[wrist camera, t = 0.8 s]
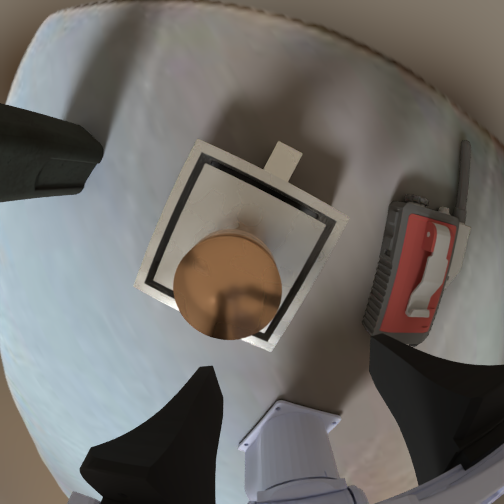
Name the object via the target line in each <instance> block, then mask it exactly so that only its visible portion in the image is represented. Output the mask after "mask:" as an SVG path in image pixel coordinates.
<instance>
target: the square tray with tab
mask: <svg viewBox="0 0 504 504" xmlns="http://www.w3.org/2000/svg"><path fill="white" fill-rule="evenodd" d="M301 156H302V153H301V152H299V151H297V150H295V149H293V148H291V147H289V146H287V145H286V144H284V143H282V142H280V141H278V143H277V145H276V146H275V148H274V150H273V152H272V154H271V156H270V158H269V160H268V161H267V163H266V165H265V167H264V169H261V168H259V167H257V166H255V165H253V164H251V163H249V162H247V161H245V160H243V159H241V158H239V157H237V156H234V155H232V154H230V153H228V152H226V151H224V150H222V149H219V148H217V147H215V146H213V145H211V144H208V143H206V142H204V141H202V140H199V139H197V141H196V142H195V144H194V146H193V148H192V150H191V152H190V154H189V156H188V158H187V160H186V162H185V164H184V166H183V168H182V170H181V172H180V174H179V176H178V179H177V181H176V183H175V185H174V187H173V189H172V191H171V194H170V196H169V198H168V200H167V203H166V205H165V207H164V209H163V212H162V214H161V216H160V219H159V221H158V223H157V226H156V228H155V231H154V233H153V236H152V238H151V241H150V243H149V246H148V248H147V251H146V253H145V256H144V259H143V261H142V264H141V267H140V269H139V272H138V275H137V278H136V281H135V283H134V286H133V287H135V288H137V289H139V290H140V291H142V292H144V293H146V294H148V295H150V296H151V297H153V298H155V299H157V300H159V301H161V302H163V303H165V304H167V305H169V306H171V307H173V308H175V309H177V310H179V309H178V307H177V304H176V302H175V298H174V292H173V290H171V289H169V288H167V287H165V286H163V285H161V284H159V283H158V282H156V281H154V277H155V274H156V272H157V269H158V267H159V264H160V262H161V259H162V257H163V255H164V252H165V250H166V247H167V245H168V243H169V240H170V238H171V236H172V233H173V231H174V229H175V226H176V224H177V222H178V220H179V217H180V215H181V213H182V211H183V209H184V206H185V204H186V202H187V200H188V198H189V196H190V194H191V192H192V189H193V187H194V185H195V183H196V181H197V179H198V177H199V175H200V173H201V171H202V169H203V167H204V165H205V163H206V164H208V165H211V163H212V161H215V162H217V163H219V164H221V165H224V166H226V167H228V168H230V169H232V170H234V171H236V172H238V173H240V174H242V175H244V176H246V177H248V178H250V179H252V180H254V181H256V182H258V183H260V184H262V185H264V186H266V187H268V188H270V189H272V190H274V191H276V192H278V193H280V194H282V195H283V196H285V197H287V198H289V199H291V200H293V201H295V202H297V203H298V204H300V205H302V206H304V207H306V208H308V209H309V210H311V211H313V212H315V213H317V214H318V215H319V216H318V218H317V220H318V221H320V222H322V223H324V224H325V225H326V226H325V228H324V230H323V232H322V234H321V235H320V237H319V239H318V241H317V243H316V245H315V247H314V248H313V250H312V252H311V254H310V256H309V257H308V259H307V261H306V263H305V265H304V266H303V268H302V270H301V272H300V274H299V275H298V277H297V279H296V281H295V282H294V284H293V286H292V288H291V289H290V291H289V293H288V294H287V296H286V298H285V300H284V301H283V303H282V305H281V306H280V308H279V310H278V311H277V313H276V315H275V316H274V318H273V320H272V321H271V323H270V325H269V326H268V328H267V330H266V331H265V333H262V332H260V331H259V332H257V333H256V334H254V335H251V336H249V337H246V338H242V339H241V340H243V341H246V342H248V343H250V344H253V345H255V346H258V347H260V348H262V349H265V350H267V351H270V352H271V351H272V350H273V348H274V347H275V345H276V344H277V342H278V341H279V339H280V338H281V336H282V334H283V333H284V331H285V330H286V328H287V326H288V325H289V323H290V322H291V320H292V318H293V317H294V315H295V314H296V312H297V310H298V309H299V307H300V305H301V304H302V302H303V300H304V299H305V297H306V295H307V294H308V292H309V290H310V289H311V287H312V285H313V284H314V282H315V280H316V278H317V277H318V275H319V273H320V271H321V270H322V268H323V266H324V264H325V263H326V261H327V259H328V257H329V255H330V254H331V252H332V250H333V248H334V246H335V244H336V243H337V241H338V239H339V237H340V235H341V233H342V231H343V229H344V228H345V226H346V224H347V222H348V220H349V218H350V217H348V216H347V215H345V214H343V213H341V212H340V211H338V210H336V209H335V208H333V207H331V206H330V205H328V204H326V203H324V202H323V201H321V200H319V199H317V198H316V197H314V196H312V195H310V194H308V193H307V192H305V191H303V190H301V189H299V188H297V187H296V186H294V185H292V184H290V183H288V181H289V179H290V177H291V175H292V173H293V171H294V169H295V168H296V166H297V164H298V162H299V160H300V158H301Z"/></svg>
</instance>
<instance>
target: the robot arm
mask: <svg viewBox="0 0 504 504" xmlns="http://www.w3.org/2000/svg"><path fill="white" fill-rule="evenodd" d="M369 372H370V374H371V376H372V379H373V381H374V384H375V386H376V388H377V390H378V391H379V393H380V395H381V396H382V398H383V400H384V401H385V403H386V405H387V406H388V408H389V409H390V411H391V413H392V414H393V416H394V418H395V419H396V421H397V423H398V425H399V427H400V430H401V432H402V435H403V437H404V440H405V442H406V445H407V448H408V450H409V453H410V456H411V459H412V463H413V466H414V469H415V473H416V477H417V481H418V485H419V486H418V487H416V488H413V489H411V490H409V491H406V492H404V493H402V494H399V495H397V496H394V497H392V498H389V499H386V500H384V501H381V502H378V503H375V504H491V503H492V502H494V501H495V500H496V499H497V498H499V497H500V496H501V495H502V494H504V365H491V366H489V365H472V364H464V363H458V362H453V361H449V360H446V359H442V358H438V357H435V356H432V355H430V354H427V353H425V352H422V351H420V350H417V349H415V348H413V347H411V346H409V345H406V344H404V343H402V342H400V341H398V340H396V339H394V338H392V337H390V336H388V335H386V334H383V333H381V334H378V335H374V336H371V340H370V365H369ZM277 407H280V408H277ZM222 419H223V395H222V393H221V390H220V387H219V384H218V380H217V377H216V374H215V371H214V368H213V366H204V367H199V368H198V370H197V371H196V372H195V373H194V374H193V376H192V377H191V378H190V379H189V380H188V382H187V383H186V384H185V385H184V386H183V388H182V389H181V390H180V391H179V392H178V393H177V394H176V395H175V396H174V397H173V398H172V399H171V400H170V401H169V402H168V403H167V404H166V405H165V406H164V407H163V408H162V409H161V410H160V411H159V412H157V413H156V414H155V415H154V416H152V417H151V418H150V419H148V420H147V421H146V422H144V423H142V424H141V425H139V426H138V427H136V428H135V429H133V430H131V431H130V432H128V433H126V434H124V435H122V436H120V437H118V438H116V439H113V440H111V441H108V442H106V443H103V444H100V445H97V446H94V447H91V448H90V450H89V452H88V454H87V456H86V458H85V460H84V461H83V463H82V465H81V467H80V473H81V475H82V477H83V478H84V479H85V480H86V482H87V483H88V484H89V485H91V486H92V487H93V488H94V489H95V490H96V491H97V492H98V493H99V494H100V495H102V496H103V498H102V501H101V502H100V501H98V500H96V499H94V498H92V497H89V496H86V495H83V494H80V493H77V492H72V494H71V496H70V499H69V501H68V503H67V504H215V470H216V455H217V449H218V443H219V437H220V431H221V425H222ZM340 421H341V417H340V416H339V415H335V414H331V413H327V412H323V411H319V410H315V409H311V408H308V407H304V406H300V405H297V404H294V403H290V402H287V401H284V400H279V401H277V402H276V403H275V404H274V405H273V407H272V408H271V409H270V410H269V411H268V413H267V414H266V415H265V416H264V417H263V418H262V420H261V421H260V422H259V423H258V424H257V425H256V427H255V428H254V429H253V430H252V431H251V432H250V433H249V434H248V436H247V437H246V438H245V439H244V440H243V441H242V442H241V443H240V444H239V445H238V449H239V450H241V451H244V452H245V493H246V495H247V497H248V499H249V500H250V501H249V502H248V504H369V502H368V499H367V497H366V495H365V493H364V492H363V490H361V489H360V488H357V487H356V486H355V485H351V486H348V487H347V484H346V481H345V478H341V479H340V477H339V473H338V469H337V466H336V462H335V459H334V455H333V451H332V448H331V444H330V441H329V437H328V433H329V432H330V431H331V430H332V429H333V428H334V427H335V426H336V425H337V424H338V423H339V422H340Z"/></svg>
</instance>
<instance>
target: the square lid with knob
mask: <svg viewBox="0 0 504 504" xmlns="http://www.w3.org/2000/svg"><path fill="white" fill-rule="evenodd" d="M325 226H326V225H325V224H324V223H322V222H320V221H318V220H316V219H315V218H313V217H311V216H309V215H307V214H305V213H304V212H302V211H300V210H298V209H296V208H294V207H292V206H291V205H289V204H287V203H285V202H283V201H281V200H279V199H277V198H275V197H273V196H272V195H270V194H268V193H266V192H264V191H262V190H260V189H258V188H256V187H254V186H252V185H250V184H248V183H246V182H244V181H242V180H240V179H238V178H236V177H234V176H232V175H230V174H227V173H225V172H223V171H221V170H219V169H217V168H215V167H213V166H211V165H208V164H206V163H205V165H204V167H203V169H202V171H201V173H200V175H199V177H198V179H197V181H196V183H195V185H194V187H193V189H192V192H191V194H190V196H189V198H188V200H187V202H186V204H185V206H184V209H183V211H182V213H181V215H180V217H179V220H178V222H177V224H176V226H175V229H174V231H173V233H172V236H171V238H170V240H169V243H168V245H167V247H166V250H165V252H164V255H163V257H162V259H161V262H160V264H159V267H158V269H157V272H156V274H155V277H154V281H156V282H158V283H159V284H161V285H163V286H165V287H167V288H169V289H171V290H173V292H174V298H175V302H176V304H177V307H178V309H179V311H180V313H181V314H182V316H183V317H184V319H185V320H186V321H187V322H188V323H189V324H190V325H191V326H192V327H194V328H195V329H196V330H198V331H199V332H201V333H203V334H205V335H207V336H210V337H213V338H217V339H223V340H236V339H242V338H246V337H249V336H251V335H254V334H256V333H257V332H259V331H260V332H262V333H265V331H266V330H267V328H268V326H269V325H270V323H271V321H272V320H273V318H274V316H275V315H276V313H277V311H278V310H279V308H280V306H281V305H282V303H283V301H284V300H285V298H286V296H287V294H288V293H289V291H290V289H291V288H292V286H293V284H294V282H295V281H296V279H297V277H298V275H299V274H300V272H301V270H302V268H303V266H304V265H305V263H306V261H307V259H308V257H309V256H310V254H311V252H312V250H313V248H314V247H315V245H316V243H317V241H318V239H319V237H320V235H321V234H322V232H323V230H324V228H325Z"/></svg>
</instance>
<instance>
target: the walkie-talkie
mask: <svg viewBox="0 0 504 504" xmlns="http://www.w3.org/2000/svg"><path fill="white" fill-rule="evenodd" d="M470 151H471V145H470V142H469V141H467V140H463V141H462V142H461V159H460V174H459V185H458V194H457V202H456V208H455V209H454V213H453V216H451V215H450V214H449V208H446V207H441V208H440V207H439V212H438V211H435V210H431V209H428V208H425V206H428V204H429V200H428V199H426V198H424V197H420V196H416V195H411V194H407V195H405V200H406V201H407V202H408V203H404V202H396V201H393V202H392V203H391V204H390V205H389V210H388V216H387V222H386V227H385V232H384V237H383V242H382V247H381V252H380V256H379V258H380V261H379V262H378V264H379V265H378V268H377V269H376V270H377V273H376V274H375V280H374V281H373V283H374V285H373V287H372V292H371V293H370V295H371V296H370V298H369V300H368V301H369V303H368V304H367V310H365V312H366V314H365V316H364V317H363V318H364V320H363V321H362V323H363V325H364V327H365V328H366V330H367V331H368V333H369V334H370V335H371V336H374V335H378V334H381V333H383V334H386V335H388V336H390V337H392V338H394V339H396V340H398V341H400V342H402V343H404V344H409V345H410V346H413V347H415V346H417V345H418V344H420V343H422V342H423V341H424V340H425V338H426V337H427V336H428V335H429V332H430V330H431V326H432V325H433V321H434V319H435V315H436V313H437V309H438V306H439V303H440V300H441V297H442V294H443V291H444V290H446V287H447V286H448V285H449V284H450V283H451V281H452V280H453V279H454V278H455V276H456V275H457V274H458V273H459V271H460V270H461V267H462V263H463V258H464V254H465V250H466V245H467V240H468V237H469V235H470V230H471V227H469V226H466V225H465V219H466V202H467V194H468V184H469V172H470Z"/></svg>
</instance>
